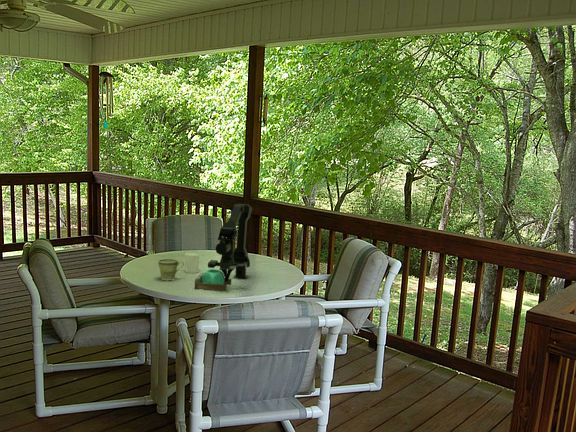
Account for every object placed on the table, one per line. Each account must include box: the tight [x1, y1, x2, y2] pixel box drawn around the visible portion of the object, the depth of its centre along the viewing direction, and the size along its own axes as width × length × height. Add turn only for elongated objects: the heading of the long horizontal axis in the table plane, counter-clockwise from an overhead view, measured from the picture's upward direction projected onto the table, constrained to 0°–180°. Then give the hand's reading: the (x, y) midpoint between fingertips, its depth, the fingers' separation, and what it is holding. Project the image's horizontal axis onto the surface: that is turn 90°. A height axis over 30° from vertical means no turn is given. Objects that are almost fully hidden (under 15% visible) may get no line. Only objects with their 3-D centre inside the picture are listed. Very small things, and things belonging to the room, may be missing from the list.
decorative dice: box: [202, 268, 225, 284], centre depth 277 cm, size 8×8×8 cm
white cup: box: [184, 252, 200, 274], centre depth 305 cm, size 8×8×10 cm
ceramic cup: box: [157, 258, 185, 281], centre depth 287 cm, size 13×10×10 cm
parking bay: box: [194, 272, 232, 292], centre depth 277 cm, size 14×16×5 cm
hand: (226, 281), depth 277 cm, fingers closed
